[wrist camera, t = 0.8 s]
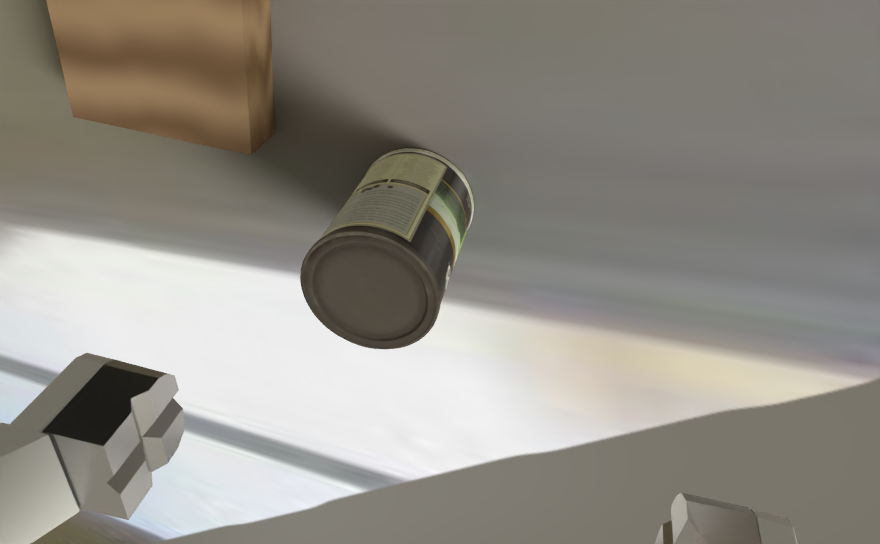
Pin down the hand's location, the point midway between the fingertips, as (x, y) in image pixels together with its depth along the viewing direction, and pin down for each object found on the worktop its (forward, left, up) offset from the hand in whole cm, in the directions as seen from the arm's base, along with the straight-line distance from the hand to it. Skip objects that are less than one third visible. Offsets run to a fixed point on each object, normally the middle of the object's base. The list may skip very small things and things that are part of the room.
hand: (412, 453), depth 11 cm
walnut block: (+10, -30, -43) cm, 54 cm away
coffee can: (+21, -9, -43) cm, 49 cm away
